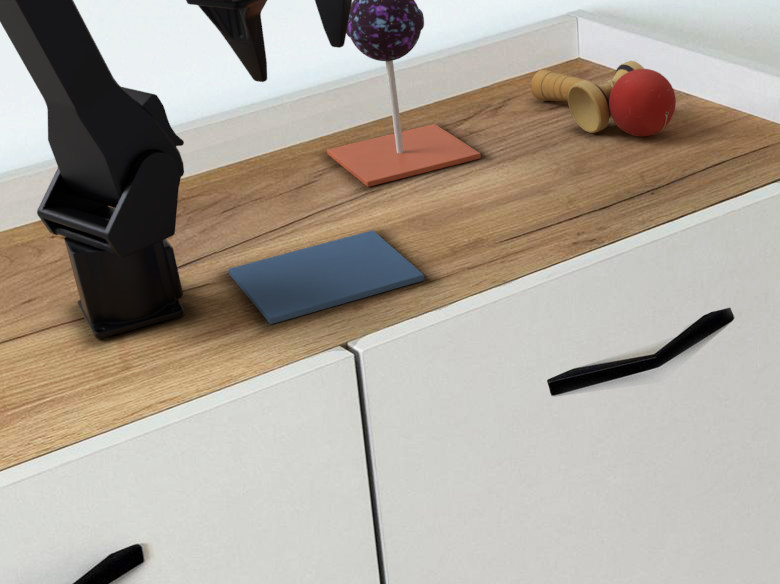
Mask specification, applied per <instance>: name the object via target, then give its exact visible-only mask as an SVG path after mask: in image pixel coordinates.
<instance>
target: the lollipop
mask: <svg viewBox="0 0 780 584" xmlns="http://www.w3.org/2000/svg"><path fill="white" fill-rule="evenodd" d="M424 27H425V17H424V13H423V11H422V9H420V8H419V6H418V4H417V3H416V1H415V0H352V3H351V10H350V15H349V21H348V26H347V32H346V36H347V37H349V38H350V39H351V42H352V43H353V45H354V46H355V48H356V49H357V50H358V51H359V52H360V53H361V54H363V55H364V56H366V57H367V58H369V59H371V60H374V61H379V62H385V68H386V78H387V85H388V91H389V92H388V93H389V99H390V109H391V116H392V123H393V124H392V126H393V132H394V133H395V141H396V149H397V153H403V152H404V147H403V139H402V124H401V116H400V108H399V99H398V91H397V83H396V75H395V67H394V61H396V60H399V59H401V58H403V57H405V56H406V55H408V54H410V52H411V51H412V50H413V49H414V48H415V47H416V45H417V43H418V42H419V39H420V36H421V33H422V31H423V29H424ZM394 133H393V134H394Z"/></svg>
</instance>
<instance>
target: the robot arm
mask: <svg viewBox="0 0 780 584" xmlns="http://www.w3.org/2000/svg"><path fill="white" fill-rule="evenodd" d="M185 1H186V3H187V4H188V5H193V6H198V8H200V10H201V11H202V13H203V14H204V15H205V16H206V17H207V19H208V20H209V21H210V22H211V23H212V24H213V26H215V28H216V29H217V30H218V32H219V33H220V34H221V36H222V37H223V38H224V40H225V41H226V42H227V44H228V46H229V47H230V48H231V49H232V51H233V53H234V54H235V55H236V57H237V58H238V60H239V61H240V63H241V64H242V65H243V67H244V68H245V70H246V71H247V72H248V74H249V76H250V77H251V78H252V80H253V81H254V82H260V83H265V82H267V80H268V62H267V61H268V60H267V53H266V46H265V38H264V31H263V30H264V29H263V22H262V11H263V9H264V7H265V6H266V4H267V2H268V0H185ZM314 2H315V3H314V4H315V6H316V9H317V12H318V15H319V18H320V21H321V25H322V28H323V30H324V32H325V35H326V37H327V40H328V42H329V45H330V46H331V47H332V48H339V49H340V48H342V47H344V46H345V42H346V37H347V34H346V32H347V26H348V21H349V15H350V10H351V4H352V2H353V0H314ZM0 24H1V26H2V28H3V30H4V32H5V33H6V36H7V37H8V39H9V40H10V42H11V44H12V45H13V47H14V49H15V51H16V52H17V54H18V56H19V58H20V59H21V62H22V63H23V65H24V66H25V69H26V71H27V72H28V74H29V75H30V77H31V79H32V80H33V82H34V84H35V86H36V87H37V90H38V91H39V93H40V95H41V96H42V98H43V100H44V103H45V105H46V110H47V142H48V144H49V147H50V149H51V152H52V155H53V157H54V161H55V163H56V165H57V169H56V171H55V173H54V174H53V177H52V179H51V180H50V183H49V185H48V188H47V189H46V191H45V194H44V195H43V197H42V199H41V202H40V204H39V206H38V208H37V211H36V214H37V216H38V218H39V219H40V221H41V222H42V224H43V225H44V226H45V227H46V229H47V230H48V232H49V233H50V234H52V235H55V236H58V235H59V236H61V237H64V238H63V240H64V244H65V247H66V251H67V255H68V258H69V263H70V266H71V271H72V274H73V277H74V279H75V280H74V281H75V285H76V289H77V292H78V296H79V300H77V305H78V309H79V311H80V313H81V315H82V317H83V318H84V320H85V323H86V324H87V326H88V328H89V329H90V331H91V333H92V336H93V338H95V339H99V340H100V339H104V338H108V337H111V336H115V335H120V334H122V333H126V332H129V331H134V330H136V329H141V328H145V327H148V326H152V325H155V324H158V323H162V322H166V321H169V320H173V319H176V318H180V317H182V316H184V315H185V314H186V313H185V307H184V306H183V305H182V303H181V302H180V299H182V298H183V297H184V291H183V286H182V283H181V282H182V281H181V278H180V273H179V269H178V264H177V260H176V255H175V250H174V247H173V246H172V245H171V243H170V242H169V241H168V239H169V238H171V237H173V236H174V235H175V233H176V224H177V223H176V222H177V221H176V220H177V212H178V201H179V198H178V197H179V189H180V183H181V179H182V177H183V176H184V174H185V165H184V160H183V158H182V155H181V152H180V150H179V148H178V147H182V146H184V144H185V141H184V139H182V138H181V137H180V136H178V134H177V133H176V132H175V131H174V129H173V128H172V127H171V123H170V121H169V119H168V115H167V112H166V109H165V106H164V104H163V103H162V101H161V99H160V98H159V96H158V95H157V94H156V93H152V92H147V91H142V90H138V89H134V88H129V87H124V86H121V85H120V84H119V83H118V82H117V80H116V79H115V78H114V76H113V74H112V72H111V70H110V68H109V67H108V65H107V63H106V61H105V58H104V57H103V55H102V53H101V51H100V49H99V47H98V46H97V43H96V41H95V40H94V37H93V36H92V34H91V32H90V29H89V28H88V26H87V24H86V22H85V20H84V19H83V16H82V14H81V13H80V11H79V9H78V7H77V5H76V3H75V1H74V0H0Z"/></svg>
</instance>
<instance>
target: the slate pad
mask: <svg viewBox="0 0 780 584" xmlns="http://www.w3.org/2000/svg"><path fill="white" fill-rule="evenodd" d="M227 270H228V275H229V276H230V277H231V278H232V279H233V281H234V282H235V283H236V284H237V286H238V287H239V288H240V289H241V291H242V292H243V293H244V294H245V296H247V298H248V300H250V302H251V303H252V304H253V305H254V307H255V308H256V309H257V310H258V311H259V312H260V314H261V315H262V316H263V317H264V319H265V321H267V322H268V324H269V325H273V324H277V323H280V322H281V323H282V322H284V321H287V320H290V319H295V318H297V317H301V316H305V315H308V314H312V313H315V312H318V311H322V310H326V309H329V308H333V307H336V306H340V305H343V304H347V303H349V302H350V303H351V302H354V301H357V300H361V299H364V298H367V297H372V296H374V295H378V294H383V293H385V292H388V291H392V290H395V289H400V288H403V287H406V286H409V285H413V284H416V283H420V282H424V281H425V275H424V274H423V272H421V271H420V269H418V268H417V267H416V266H415V265H414V264H412V263H411V262H410V261H409V260H408V259H406V257H404V256H403V255H402V254H401V253H399V252H398V251H397V249H395V248H394V247H393V246H392V245H390V244H389V242H387V241H386V240H385V239H384V238H382V237H381V236H380V235H379V234H378V233H377V232H376V231H374V230H373V229H372V230H369V231H364V232H361V233H357V234H354V235H353V234H352V235H350V236H349V235H348V236H346V237H342V238H339V239H335V240H331V241H327V242H324V243H320V244H316V245H312V246H308V247H304V248H300V249H298V250H293V251H290V252H286V253H283V254H278V255H275V256H271V257H267V258H263V259H260V260H257V261H253V262H249V263H245V264H241V265H238V266H237V265H236V266H234V267H230V268H228V269H227Z"/></svg>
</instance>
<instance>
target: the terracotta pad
mask: <svg viewBox="0 0 780 584" xmlns="http://www.w3.org/2000/svg"><path fill="white" fill-rule="evenodd" d="M401 131H402V130H401ZM402 139H403V147H404V152H403V153H397V149H396V141H395V133H391V134H387V135H382V136H378V137H374V138H369V139H365V140H361V141H357V142H353V143H348V144H344V145H341V146H335V147H332V148H327V149H326V152H327V155H328V156H329V157H330V158H332V159H333V160H334V161H335V162H337V164H339V165H340V166H341V167H342V168H344V169H345V170H346V171H347V172H349V173H350V174H351V175H353V176H354V177H355V179H357V180H359V181H360V182H361V183H362V184H364V185H365V186H366V187H367V188H369V187H373V186H377V185H382V184H385V183H389V182H392V181H393V182H394V181H396V180H401V179H405V178H409V177H413V176H416V175H420V174H424V173H428V172H433V171H437V170H440V169H444V168H448V167H452V166H457V165H460V164H464V163H469V162H472V161H477V160H480V159H481V158H482V155H481V153H480V152H479V151H478V150H476V149H475V148H473V147H471V146H469V145H468V144H467V143H465V142H463V141H462V140H460V139H459V138H457V137H456V136H454V135H452V133H450V132H448V131H446V130H445V129H444V128H441V127H440V126H439V125H437V124H436V123H432V124H428V125H423V126H419V127H415V128H412V129H407V130H403V131H402Z"/></svg>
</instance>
